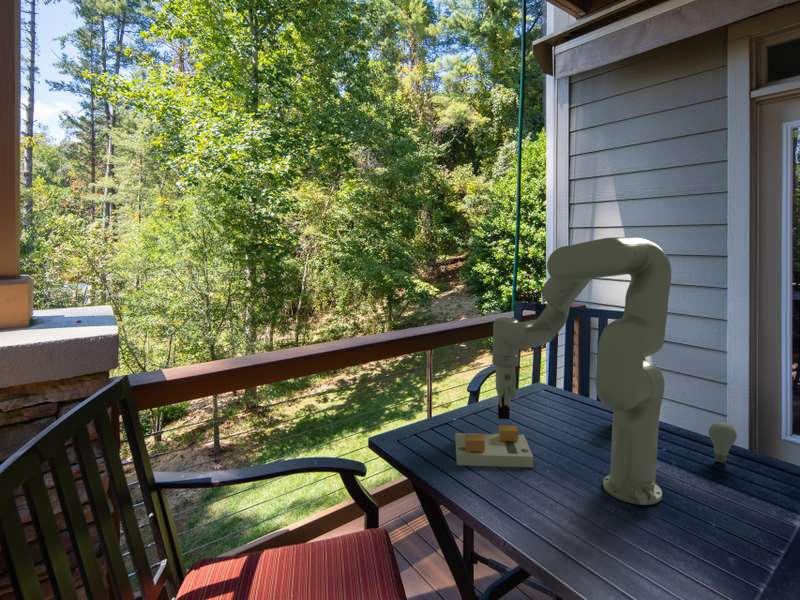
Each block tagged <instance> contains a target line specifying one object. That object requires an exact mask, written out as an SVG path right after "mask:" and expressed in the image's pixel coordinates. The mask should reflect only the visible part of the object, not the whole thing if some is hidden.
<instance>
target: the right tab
mask: <svg viewBox="0 0 800 600" xmlns="http://www.w3.org/2000/svg"><path fill="white" fill-rule="evenodd" d="M498 434H499V438H500V441H518V434H519V430H518V427H517V425H509V424H508V425H505V424H504V425H503V424H502V425H501V424H499V425H498Z"/></svg>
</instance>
